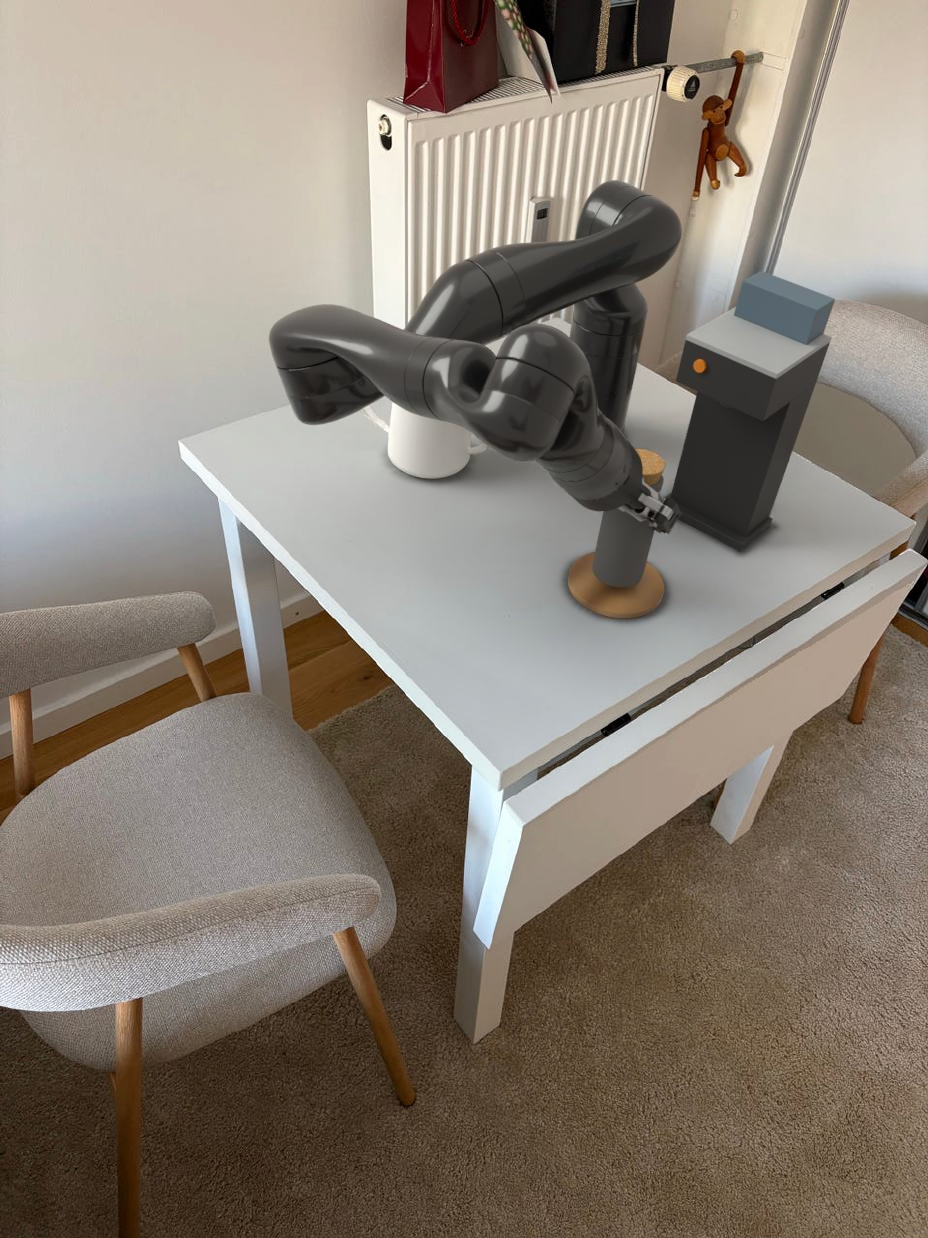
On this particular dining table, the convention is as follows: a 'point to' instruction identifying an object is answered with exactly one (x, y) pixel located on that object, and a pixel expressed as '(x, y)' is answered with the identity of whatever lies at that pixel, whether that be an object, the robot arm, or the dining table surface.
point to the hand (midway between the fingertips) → (639, 510)
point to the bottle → (627, 535)
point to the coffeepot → (425, 443)
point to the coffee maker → (747, 405)
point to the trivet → (614, 591)
